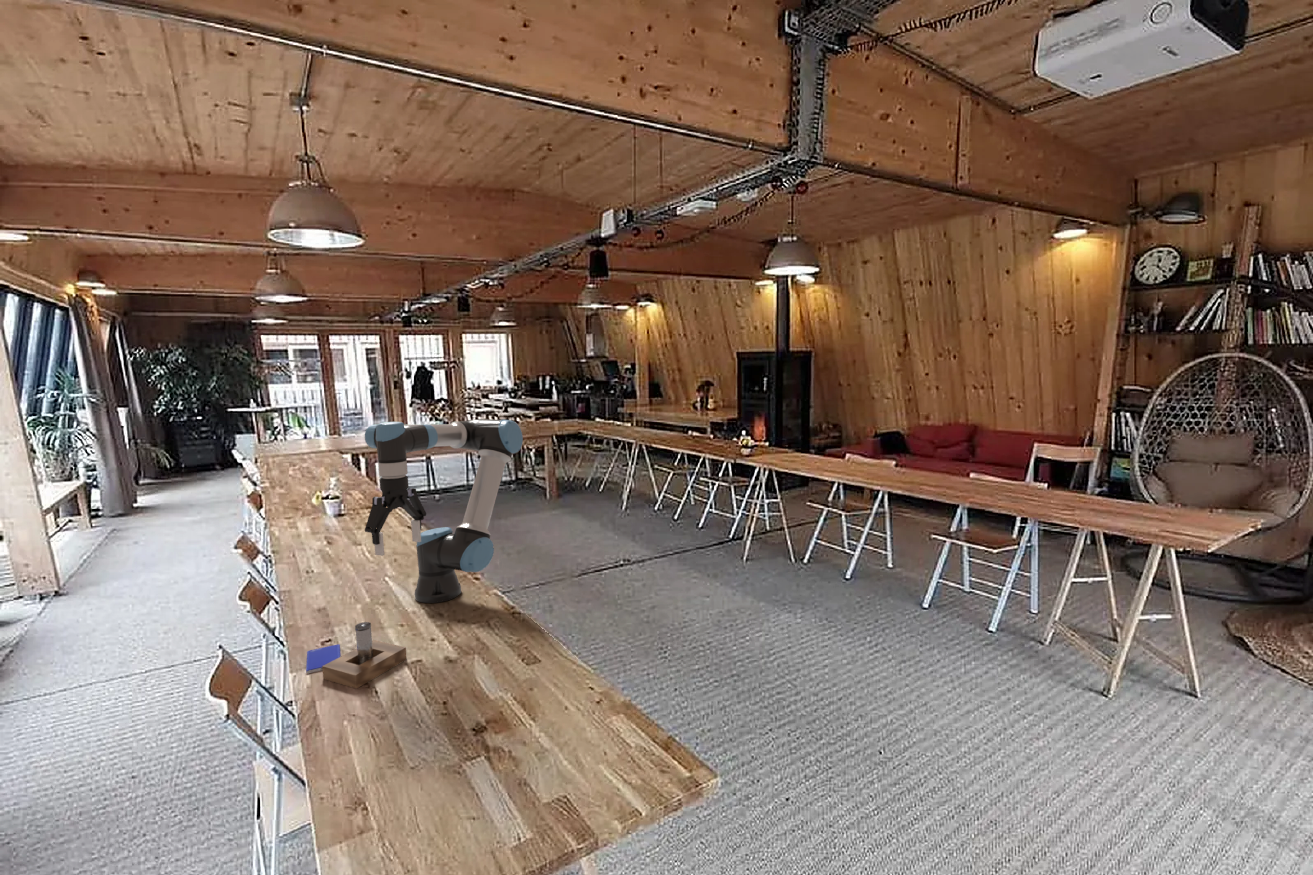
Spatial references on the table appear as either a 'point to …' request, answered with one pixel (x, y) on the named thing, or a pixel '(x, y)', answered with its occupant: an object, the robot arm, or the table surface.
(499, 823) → the table surface
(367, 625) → the pin
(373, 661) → the slot block
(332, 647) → the hard drive
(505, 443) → the robot arm
